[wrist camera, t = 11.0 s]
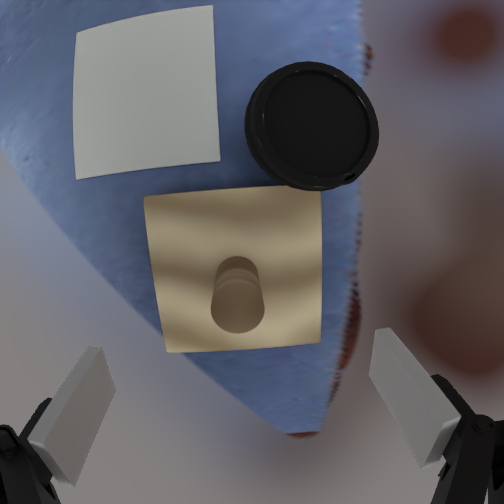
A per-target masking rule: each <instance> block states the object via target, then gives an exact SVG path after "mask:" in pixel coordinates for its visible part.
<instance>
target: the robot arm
mask: <svg viewBox="0 0 504 504" xmlns="http://www.w3.org/2000/svg"><path fill="white" fill-rule="evenodd" d="M369 376H370V378H371V380H372V381H373V383H374V385H375V387H376V388H377V390H378V392H379V394H380V396H381V397H382V399H383V401H384V403H385V404H386V406H387V408H388V410H389V411H390V413H391V415H392V417H393V419H394V421H395V422H396V424H397V426H398V428H399V430H400V431H401V433H402V435H403V437H404V439H405V440H406V442H407V444H408V446H409V448H410V450H411V452H412V453H413V455H414V457H415V459H416V461H417V463H418V465H419V467H420V469H421V470H422V469H425V468H428V467H430V466H433V465H436V464H438V462H439V460H440V458H441V456H442V455H443V456H444V458H445V459H446V463H445V465H444V466H443V468H442V469H441V471H440V473H439V474H438V476H440V479H439V482H438V485H437V488H436V490H435V493H434V496H433V499H432V501H431V504H484V501H485V496H486V492H487V487H488V504H504V420H501V421H493V419H491V418H490V417H488V416H485V415H478V414H477V415H476V414H475V413H474V411H473V410H472V409H471V408H470V406H469V405H468V404H467V403H466V402H465V400H464V399H463V398H462V397H461V396H460V394H458V392H457V391H456V390H455V389H453V386H452V385H451V384H450V383H449V381H448V380H447V379H445V378H444V377H442V376H440V375H439V374H436V375H432V376H429V374H428V373H427V372H426V371H425V370H424V368H423V367H422V366H421V365H420V363H419V362H418V361H417V360H416V359H415V357H414V356H413V355H412V354H411V352H410V351H409V350H408V349H407V348H406V346H405V345H404V344H403V343H402V342H401V340H400V339H399V338H398V337H397V336H396V335H395V333H394V332H393V331H392V330H391V329H390V328H384V329H378V330H376V331H375V338H374V345H373V352H372V359H371V365H370V371H369ZM115 392H116V388H115V386H114V383H113V380H112V377H111V374H110V371H109V368H108V365H107V362H106V359H105V356H104V353H103V350H102V347H88V348H87V349H86V351H85V352H84V354H83V355H82V356H81V358H80V359H79V361H78V362H77V363H76V365H75V366H74V368H73V370H72V371H71V372H70V374H69V375H68V377H67V378H66V380H65V381H64V382H63V384H62V385H61V387H60V388H59V390H58V391H57V393H56V395H55V396H54V397H53V398H47V399H46V400H44V401H43V402H42V403H41V404H40V405H39V406H38V408H37V409H36V411H35V413H34V414H33V415H32V417H31V419H30V420H29V421H28V423H27V424H26V426H25V428H24V429H23V431H22V432H21V434H20V435H19V437H18V436H17V435H16V433H15V431H14V430H13V428H11V427H10V426H9V425H0V504H61V503H60V500H59V498H58V496H57V493H56V491H55V489H54V486H53V485H52V483H51V482H50V480H51V478H52V476H54V477H55V479H56V480H57V481H58V483H60V484H63V485H67V486H71V487H75V485H76V482H77V480H78V478H79V475H80V473H81V470H82V468H83V465H84V463H85V460H86V458H87V456H88V453H89V451H90V448H91V446H92V444H93V441H94V439H95V437H96V434H97V432H98V430H99V427H100V425H101V423H102V421H103V419H104V416H105V414H106V412H107V410H108V407H109V405H110V403H111V401H112V399H113V396H114V394H115Z"/></svg>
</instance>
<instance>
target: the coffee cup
mask: <svg viewBox="0 0 504 504" xmlns="http://www.w3.org/2000/svg"><path fill="white" fill-rule="evenodd" d="M245 135H246V140H247V144H248V147H249V149H250V151H251V154H252V156H253V157H254V159H255V160H256V162H257V163H258V164H259V166H260V167H261V168H262V169H263V170H264V171H265V172H266V173H267V174H268V175H269V176H270V177H272V178H273V179H275V180H276V181H278V182H280V183H281V184H284V185H286V186H289V187H291V188H295V189H300V190H304V191H325V190H330V189H334V188H336V187H339V186H341V185H345V184H349V183H351V182H353V181H354V180H356V179H357V178H358V177H359V176H360V175H361V174H362V173H363V171H364V170H365V169H366V168H367V167H368V165H369V164H370V163H371V161H372V159H373V157H374V155H375V153H376V150H377V147H378V142H379V129H378V121H377V118H376V114H375V111H374V108H373V106H372V104H371V102H370V100H369V98H368V97H367V95H366V94H365V92H364V91H363V90H362V88H361V87H360V86H359V85H358V84H357V83H356V82H355V81H354V80H353V79H352V78H351V77H349V76H348V75H347V74H345V73H344V72H342V71H341V70H339V69H337V68H335V67H333V66H330V65H327V64H323V63H319V62H309V61H307V62H297V63H293V64H290V65H287V66H284V67H283V68H280V69H278V70H276V71H275V72H273V73H271V74H269V75H268V76H267V77H266V78H265V79H264V80H263V81H262V82H261V83H260V84H259V85H258V87H257V88H256V89H255V91H254V92H253V94H252V97H251V99H250V101H249V104H248V106H247V109H246V115H245Z"/></svg>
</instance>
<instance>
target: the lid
mask: <svg viewBox="0 0 504 504" xmlns="http://www.w3.org/2000/svg"><path fill="white" fill-rule="evenodd" d="M143 203H144V212H145V221H146V229H147V237H148V245H149V252H150V259H151V266H152V273H153V279H154V285H155V291H156V297H157V303H158V309H159V314H160V319H161V325H162V330H163V335H164V340H165V345H166V349H167V353H172V352H173V353H175V352H207V351H227V350H243V349H257V348H269V347H280V346H291V345H300V344H309V343H318V342H320V337H321V305H322V216H321V191H304V190H300V189H295V188H291V187H289V186H286V185H274V186H256V187H240V188H226V189H213V190H201V191H190V192H179V193H169V194H160V195H151V196H145V197H143Z"/></svg>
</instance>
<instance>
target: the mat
mask: <svg viewBox="0 0 504 504" xmlns="http://www.w3.org/2000/svg"><path fill="white" fill-rule="evenodd" d="M73 139H74V159H75V173H76V180H78V179H84V178H89V177H95V176H102V175H108V174H114V173H121V172H128V171H135V170H143V169H151V168H159V167H167V166H176V165H186V164H196V163H208V162H220V161H221V158H220V142H219V125H218V107H217V88H216V67H215V44H214V17H213V5H208V6H198V7H190V8H182V9H175V10H169V11H163V12H157V13H152V14H146V15H142V16H137V17H132V18H128V19H124V20H120V21H116V22H112V23H108V24H104V25H101V26H97V27H94V28H90V29H87V30H84V31H81V32H78V33H77V37H76V48H75V61H74V80H73Z"/></svg>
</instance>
